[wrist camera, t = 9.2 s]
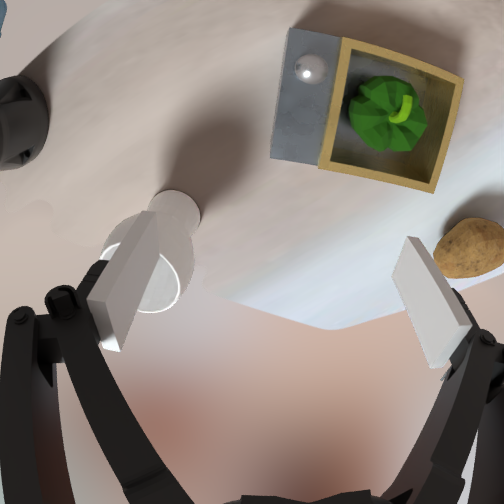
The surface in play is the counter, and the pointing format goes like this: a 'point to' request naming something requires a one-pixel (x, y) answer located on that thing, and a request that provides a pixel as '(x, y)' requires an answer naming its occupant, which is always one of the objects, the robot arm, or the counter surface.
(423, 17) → the counter surface
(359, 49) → the gold open box
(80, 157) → the counter surface
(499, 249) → the potato
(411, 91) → the bell pepper
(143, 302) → the cup
